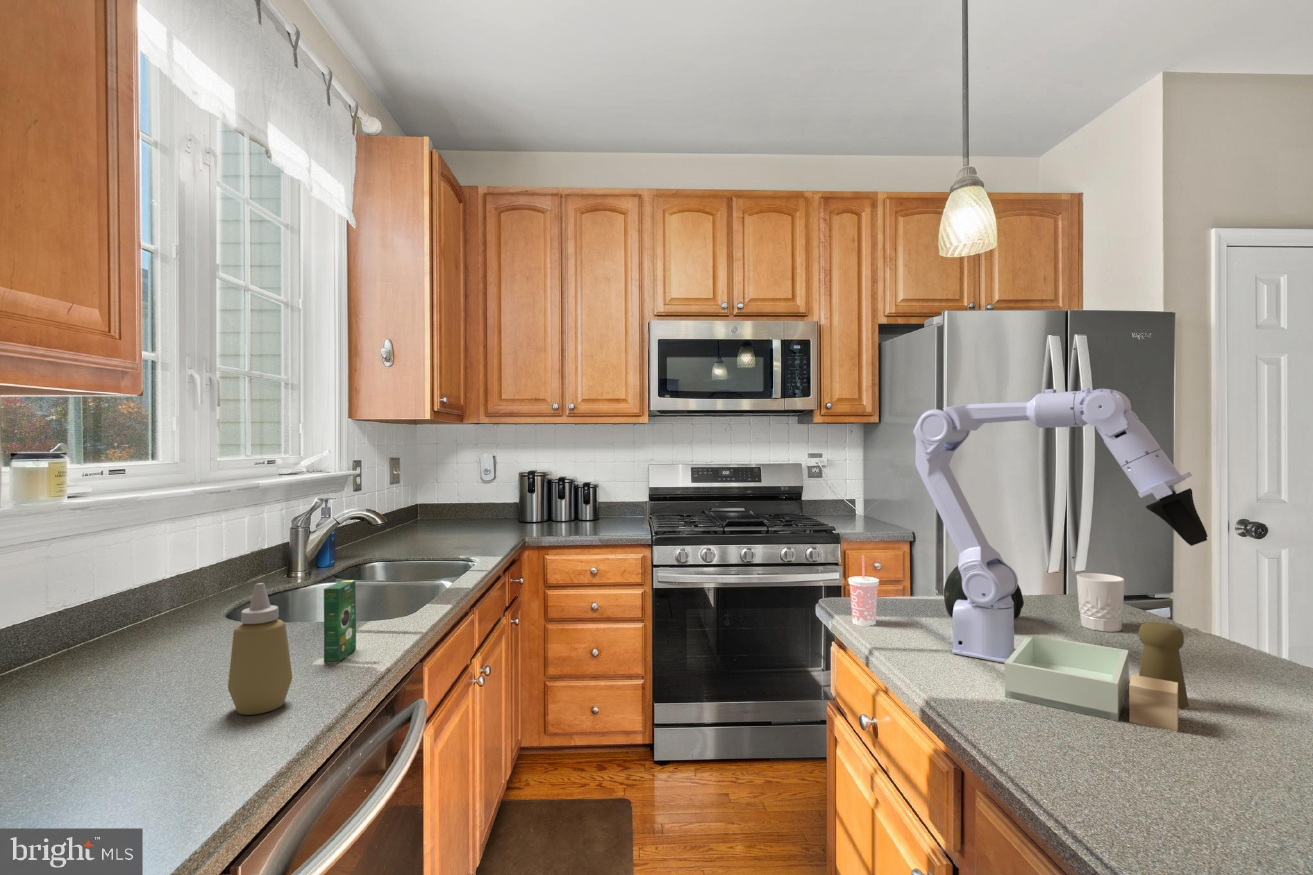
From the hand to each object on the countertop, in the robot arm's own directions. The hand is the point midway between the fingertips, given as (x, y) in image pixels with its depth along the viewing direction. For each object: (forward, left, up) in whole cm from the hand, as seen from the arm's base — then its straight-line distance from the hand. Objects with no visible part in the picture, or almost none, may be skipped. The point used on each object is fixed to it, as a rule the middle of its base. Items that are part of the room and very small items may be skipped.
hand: (1199, 541), depth 95 cm
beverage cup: (-54, +9, -23) cm, 59 cm away
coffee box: (-119, -68, -23) cm, 139 cm away
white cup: (-15, +34, -23) cm, 44 cm away
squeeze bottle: (-105, -86, -23) cm, 138 cm away
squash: (-34, +23, -23) cm, 47 cm away
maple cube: (-5, -13, -23) cm, 27 cm away
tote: (-15, -7, -23) cm, 28 cm away
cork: (-4, -4, -23) cm, 24 cm away
